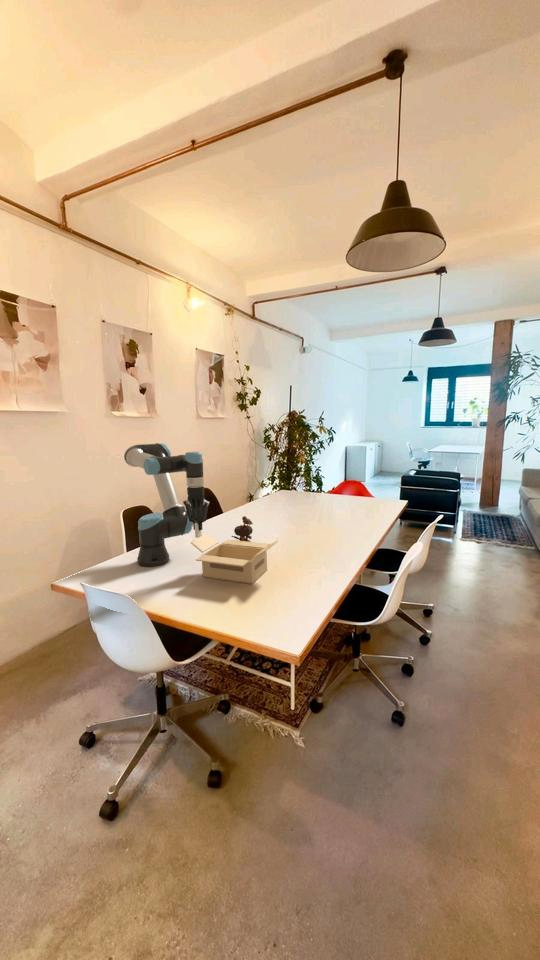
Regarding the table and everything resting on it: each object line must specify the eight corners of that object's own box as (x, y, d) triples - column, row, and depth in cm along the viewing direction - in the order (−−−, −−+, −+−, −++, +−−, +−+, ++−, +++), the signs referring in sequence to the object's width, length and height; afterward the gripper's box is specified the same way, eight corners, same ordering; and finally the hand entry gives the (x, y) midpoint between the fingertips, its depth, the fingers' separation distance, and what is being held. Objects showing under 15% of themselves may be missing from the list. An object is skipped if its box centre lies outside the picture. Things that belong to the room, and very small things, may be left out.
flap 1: (202, 552, 166) (190, 543, 168) (218, 543, 179) (207, 534, 181) (202, 551, 166) (191, 542, 168) (218, 542, 179) (207, 533, 181)
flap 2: (252, 557, 157) (265, 550, 155) (265, 547, 170) (277, 540, 167) (252, 558, 157) (265, 551, 155) (266, 548, 170) (278, 541, 167)
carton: (195, 582, 161) (193, 559, 160) (227, 559, 187) (226, 539, 186) (246, 590, 152) (245, 565, 151) (272, 565, 178) (271, 544, 177)
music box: (262, 553, 196) (259, 516, 191) (248, 561, 187) (244, 522, 183) (240, 547, 205) (237, 512, 201) (226, 555, 197) (222, 518, 192)
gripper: (178, 487, 170) (181, 537, 174) (203, 488, 165) (206, 540, 169) (187, 484, 177) (190, 533, 180) (212, 485, 172) (215, 535, 176)
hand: (198, 536), depth 175 cm, fingers closed
